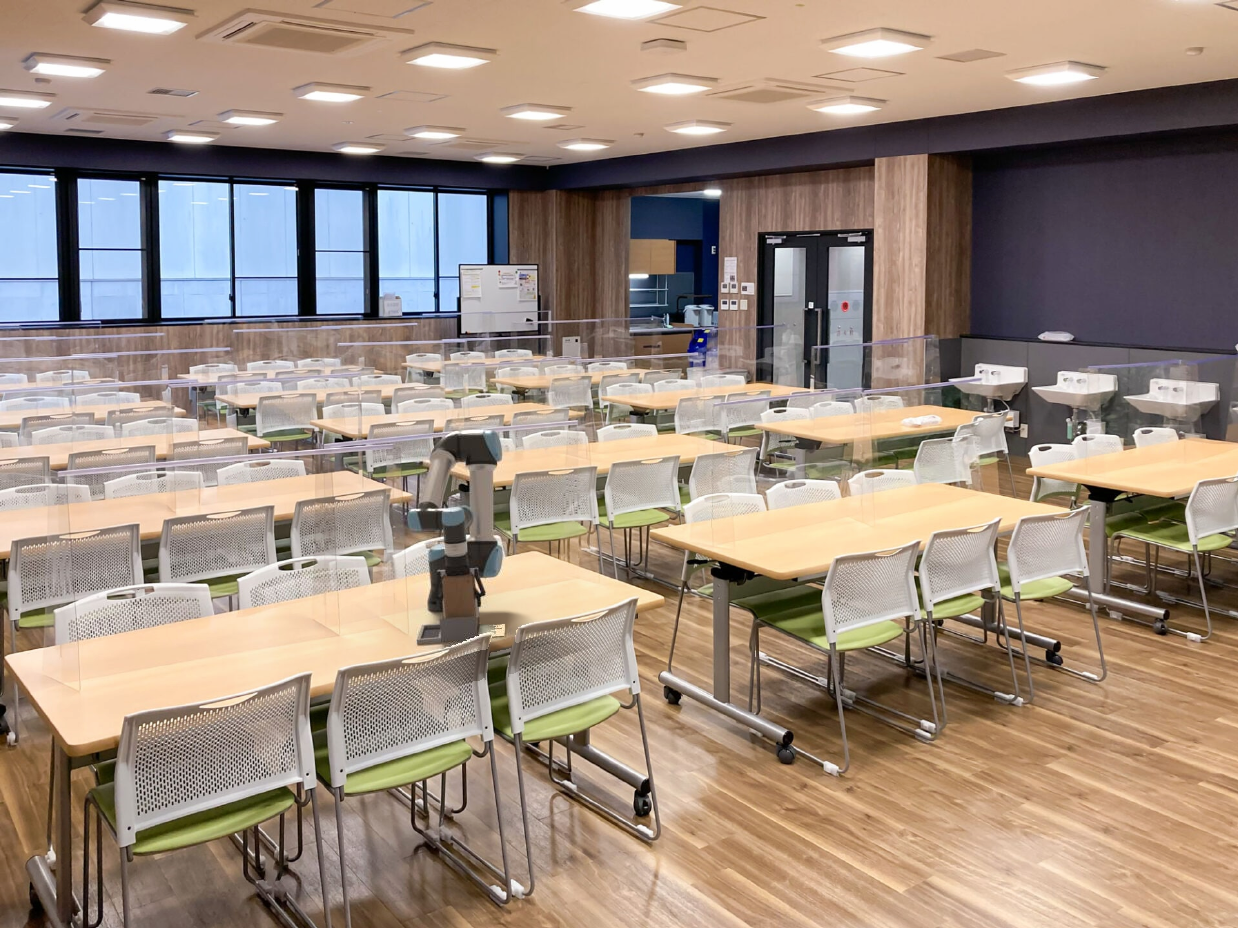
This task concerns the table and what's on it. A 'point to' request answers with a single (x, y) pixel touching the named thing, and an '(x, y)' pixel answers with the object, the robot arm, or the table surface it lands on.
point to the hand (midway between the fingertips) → (461, 617)
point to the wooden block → (459, 596)
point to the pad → (487, 629)
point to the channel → (458, 628)
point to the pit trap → (429, 634)
